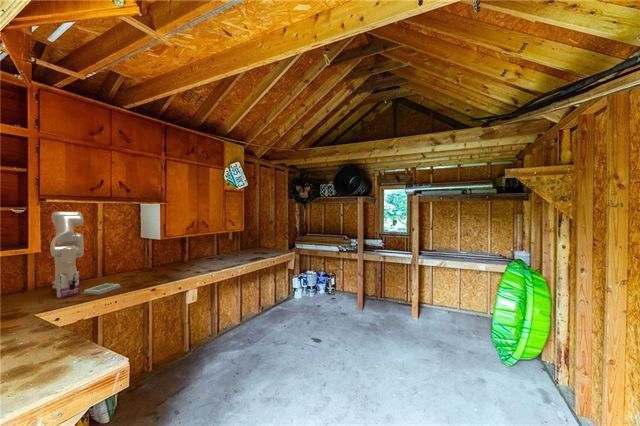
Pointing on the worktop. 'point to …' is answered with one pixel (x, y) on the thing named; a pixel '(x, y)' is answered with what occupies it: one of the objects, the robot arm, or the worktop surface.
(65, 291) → the candy bar box
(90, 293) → the rubber mat
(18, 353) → the worktop surface
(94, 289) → the light blue tray
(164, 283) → the worktop surface
